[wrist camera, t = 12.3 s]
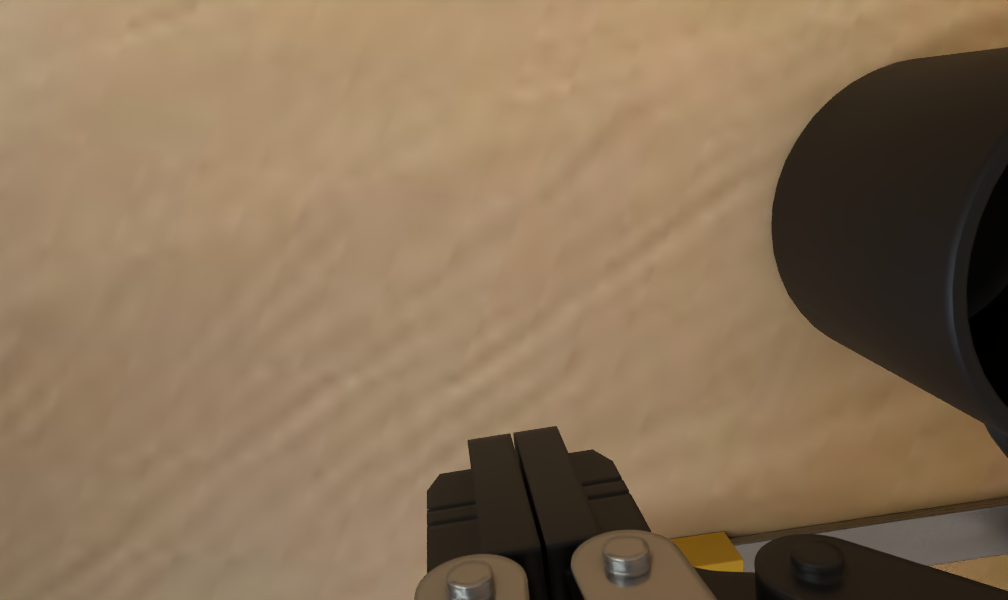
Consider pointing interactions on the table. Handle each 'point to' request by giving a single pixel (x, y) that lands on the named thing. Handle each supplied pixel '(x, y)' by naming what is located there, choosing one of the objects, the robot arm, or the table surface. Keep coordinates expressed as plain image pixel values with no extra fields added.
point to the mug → (908, 226)
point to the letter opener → (876, 537)
